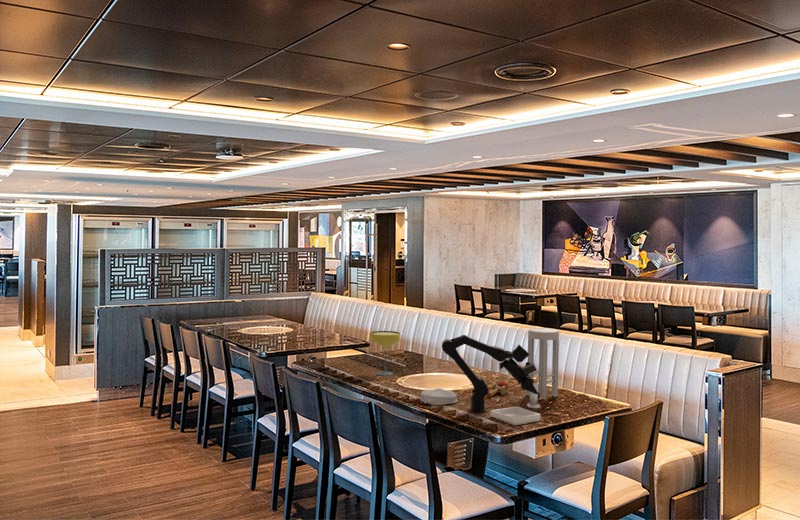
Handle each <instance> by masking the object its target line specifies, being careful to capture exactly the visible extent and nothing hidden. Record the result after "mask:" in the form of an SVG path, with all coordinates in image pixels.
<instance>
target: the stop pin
mask: <svg viewBox="0 0 800 520" xmlns="http://www.w3.org/2000/svg"><path fill="white" fill-rule="evenodd" d="M531 379H532V380H533V381H534V382H533V386H534V387H535V389H536V390H537V392H538V386H539V379H538V378H531ZM538 397H539V393H538V394H537V395H536V394H534V393H532V392H530V396H529V402H528V403H526V407H527V408H529V409H540V408H541V404H540V403H538V400H539V399H538Z"/></svg>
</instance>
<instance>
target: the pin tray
mask: <svg viewBox="0 0 800 520" xmlns="http://www.w3.org/2000/svg"><path fill="white" fill-rule="evenodd" d="M541 415H542V414H541V413H538V412H536V411H532V410H529V409H527V408H524V407H520V406H511V407H509V406H508V407H505V408H498V409H492V410H491V409H490V418H492V417H494V418H493V419H495V418H496V420H498V419H499V420H498V421H501V422H503V421H504V423H506V424H509V425H511V424H512V426H518V425H519V426H520V425H523V424H524V425H525V424H529V423H534V422H540V421H541V417H542V416H541Z"/></svg>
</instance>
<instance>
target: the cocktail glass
mask: <svg viewBox="0 0 800 520" xmlns="http://www.w3.org/2000/svg"><path fill="white" fill-rule="evenodd" d="M370 339H371V341H372V342H374V344H377V345H379V346H381V347H382V348H383V350H384V369H383V371H378V372H376V375H377V376H381V375H390V376H393V374H395V373H394V372H391V371H387V350H388V349H389V347H390V346H393V345H394V344H395V345H396V343H398V342H399V341H400V340H401V332H398V331H393V330H380V331H379V330H378V331H377V330H375V331H372V332H371V333H370Z"/></svg>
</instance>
